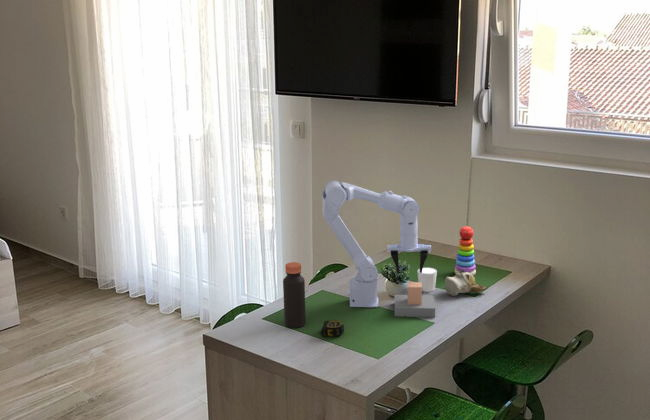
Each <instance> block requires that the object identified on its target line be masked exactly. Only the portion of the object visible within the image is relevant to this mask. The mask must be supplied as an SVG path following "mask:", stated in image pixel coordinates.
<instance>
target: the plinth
mask: <svg viewBox="0 0 650 420" xmlns="http://www.w3.org/2000/svg"><path fill="white" fill-rule="evenodd" d="M405 316H406V317H409V318H410V317H411V318H412V317H413V318H416V317H417V318H436V305H435V297H434V295H431V294H429V295H424V294H422V305H418V304H408V294H394V317H405ZM406 317H405V318H406Z"/></svg>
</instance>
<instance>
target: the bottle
mask: <svg viewBox="0 0 650 420" xmlns="http://www.w3.org/2000/svg"><path fill="white" fill-rule="evenodd" d="M284 266H285V274H286V275H285V277H284V278H283V280H282V289H283V291H282V293H283V315H284V316H283V317H284V319H283V320H284V325H285V326H286V327H287V328H292V329H297V328H301V327H304V326H305V325H306V322H307V319H306V318H307V317H306V312H307V311H306V289H305V287H306V286H305V284H306V283H305V278H304V277H303V276H302V264H301V263H300V262H295V261H294V262H293V261H291V262H287V263H285V265H284Z"/></svg>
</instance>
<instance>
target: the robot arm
mask: <svg viewBox="0 0 650 420" xmlns="http://www.w3.org/2000/svg"><path fill="white" fill-rule="evenodd" d="M321 196H322V204H321V205H322V206H321V207H322V209H321V210H322V217H323V219H324V221H325V222H326V223H327V225H328V226H329V228H330V229H331V231H332V232H333V234H334V235H335V237H336V238H337V240H338V241H339V242H340V244H341V245H342V247H343V248H344V250H345V251H346V252H347V254H348V256H349V257H350V259H351V260H352V262H353V263H354V267H355V269H356V271H357V273H356V275H355V277H350V278H349V294H348V299H349V307H350V308H379V297H378V275H379V274H378V273H379V271H378V267H377V266H376V265H375V263H374V261H373V259H372V258H371V256H369V255H367V254H366V253H365V252H364V250H363V249H362V248H361V246H360V245H359V243H358V241H357V240H356V238H355V237H354V236H353V234H352V233H351V231H350V230H349V229H348V227H347V225H346V224H345V223H344V221H343V220H342V218H341V216H340V214H339V213H340V210H341V207H342V206H343V204H344V203H345V202H346V201H347V202H350V201H352V200H353V199H359V200H361V201H362V200H363V201H367V202H371V203H375V204H377V205H378V207H379V209H382V210H386V211H390V212H393V213H396V214H400V220H399V223H400V226H399V228H400V232H399V233H400V237H399V238H400V243H399V244H398V243H397V244H387V246H386V248H387V251H386V252H387V253H390V256H391V259H392V260H393V263H394V266H395V269H396V273H398V274H399V273H400V265H399V252H400V253H402V252H403V253H405V252H406V253H407V252H408V253H409V252H410V253H411V252H413V253H415V252H419V269H420V273H422V269H423V268H424V265H425V262H426V260H427V258H428V256H429V253H432V245H431V244H423V243H422V244H420V243H418V242H419V241H418V240H419V238H418V237H419V236H418V231H419V230H418V229H419V228H418V227H419V223H418V215H419V213H420V210H421V209H420V208H419V207H420V206H419V204H418V202H417V201H416V200H415V199H413V198H412V197H410V196H408V195H399V194H395V193H394V192H393V191H392V190H387V191H383V192H381V193H379V192H375V191H372V190H370V189H366V188H363V187H360V186H357V185H355V184H352V183H351V184H350V183H348V182H346V181H345V182H344V181H343V182H341V181H338V180H330V181H328V182H327V183H326V184H325V186H324V188H323V191H322V193H321Z"/></svg>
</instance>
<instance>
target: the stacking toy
mask: <svg viewBox="0 0 650 420" xmlns="http://www.w3.org/2000/svg"><path fill="white" fill-rule="evenodd" d="M459 236H460V239H458V240H459V245H458V249H457V254H456V259H455V263H456V264H455V266H454V267H455V268H454V274H455V275H456V273H457V272H459V271H461V270H464V272H468V273H470V274H472V275H473V276H475V275H476V274H477V270H476V268H477V267H476V264H475V263H476V260H475V254H474V253H475V250H474V248H475V246H474V240H473V239H472V238H473V236H474V229H473V228H471V227H470V226H468V225H467V226H462V227H461V228H460V229H459Z"/></svg>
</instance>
